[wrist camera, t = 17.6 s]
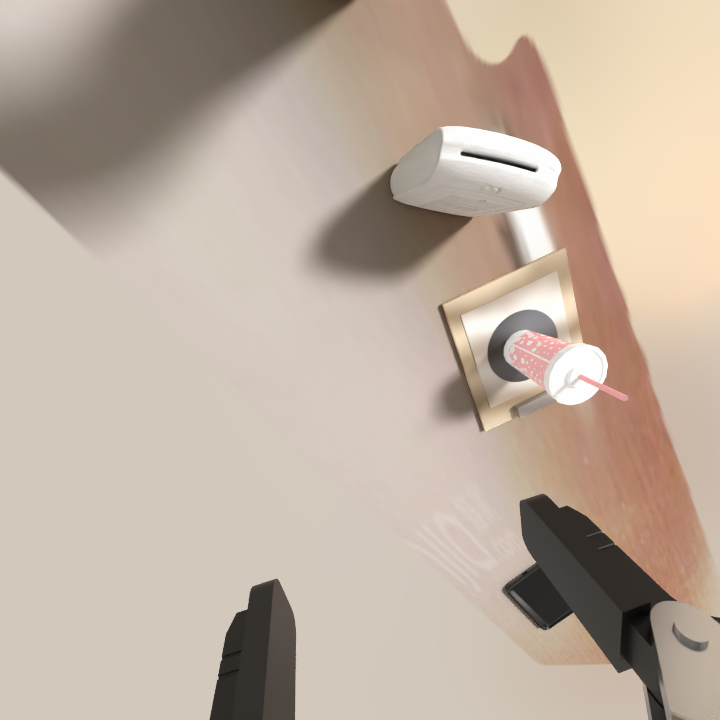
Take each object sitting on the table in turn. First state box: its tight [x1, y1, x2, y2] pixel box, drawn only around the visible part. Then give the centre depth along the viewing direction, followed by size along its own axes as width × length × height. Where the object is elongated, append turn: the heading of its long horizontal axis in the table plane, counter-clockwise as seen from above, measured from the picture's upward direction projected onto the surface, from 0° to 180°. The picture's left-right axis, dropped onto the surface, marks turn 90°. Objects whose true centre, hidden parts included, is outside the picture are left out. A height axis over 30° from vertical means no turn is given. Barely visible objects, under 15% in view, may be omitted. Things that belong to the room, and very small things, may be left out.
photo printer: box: [390, 126, 561, 217], centre depth 28 cm, size 10×4×12 cm, turn 81°
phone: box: [505, 562, 573, 630], centre depth 57 cm, size 8×1×15 cm
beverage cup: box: [504, 330, 628, 405], centre depth 34 cm, size 6×6×14 cm
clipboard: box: [441, 248, 583, 432], centre depth 41 cm, size 18×15×1 cm
